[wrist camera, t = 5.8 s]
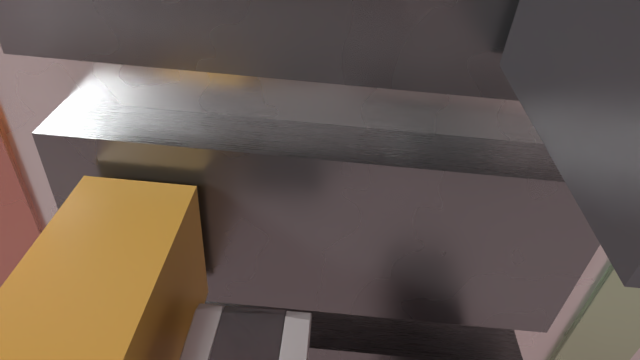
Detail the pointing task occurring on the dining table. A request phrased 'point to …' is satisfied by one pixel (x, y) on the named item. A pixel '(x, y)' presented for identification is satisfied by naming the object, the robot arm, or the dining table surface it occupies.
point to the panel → (320, 166)
